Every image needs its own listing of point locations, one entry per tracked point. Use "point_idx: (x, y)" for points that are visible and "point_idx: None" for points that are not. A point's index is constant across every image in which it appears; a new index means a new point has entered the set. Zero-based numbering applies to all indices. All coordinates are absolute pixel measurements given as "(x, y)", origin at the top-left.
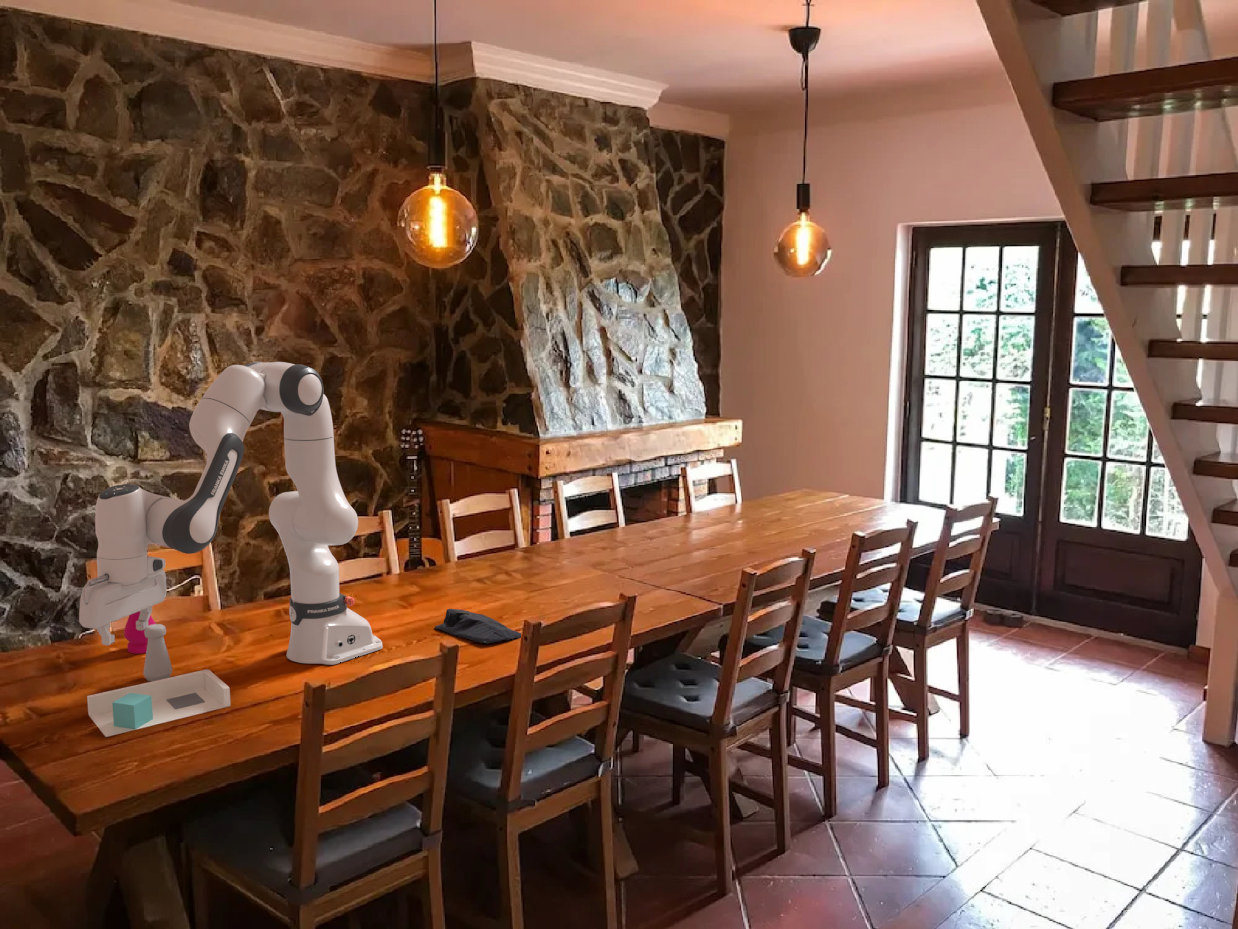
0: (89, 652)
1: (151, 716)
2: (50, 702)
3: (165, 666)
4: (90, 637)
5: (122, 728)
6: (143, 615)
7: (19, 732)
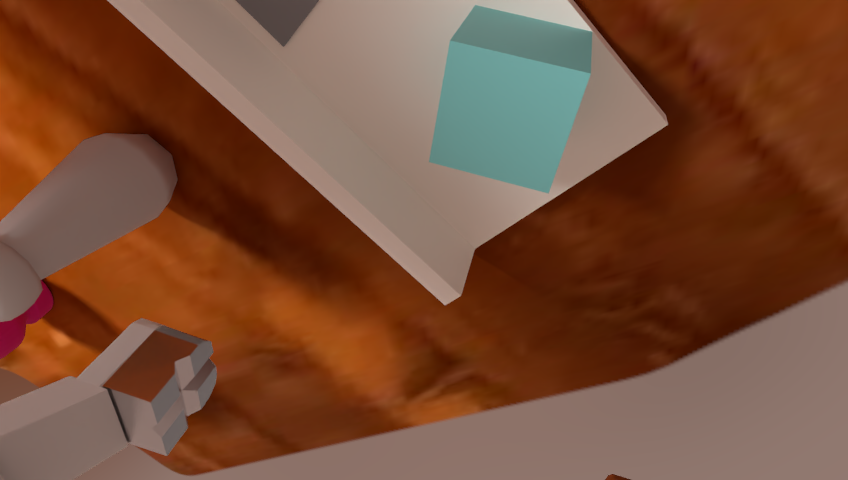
0: None
1: (479, 11)
2: (370, 367)
3: (101, 159)
4: None
5: None
6: (56, 456)
7: (566, 376)
